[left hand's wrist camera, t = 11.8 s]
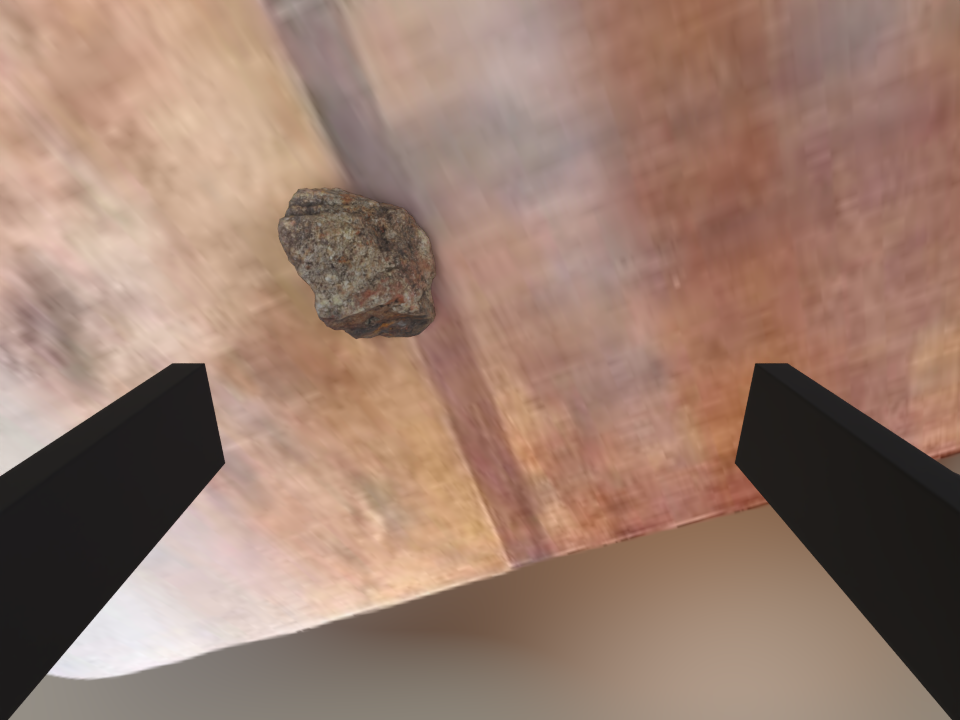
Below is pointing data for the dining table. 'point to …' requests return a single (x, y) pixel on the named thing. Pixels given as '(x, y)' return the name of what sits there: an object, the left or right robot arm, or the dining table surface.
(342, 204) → the rock
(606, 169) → the dining table surface
